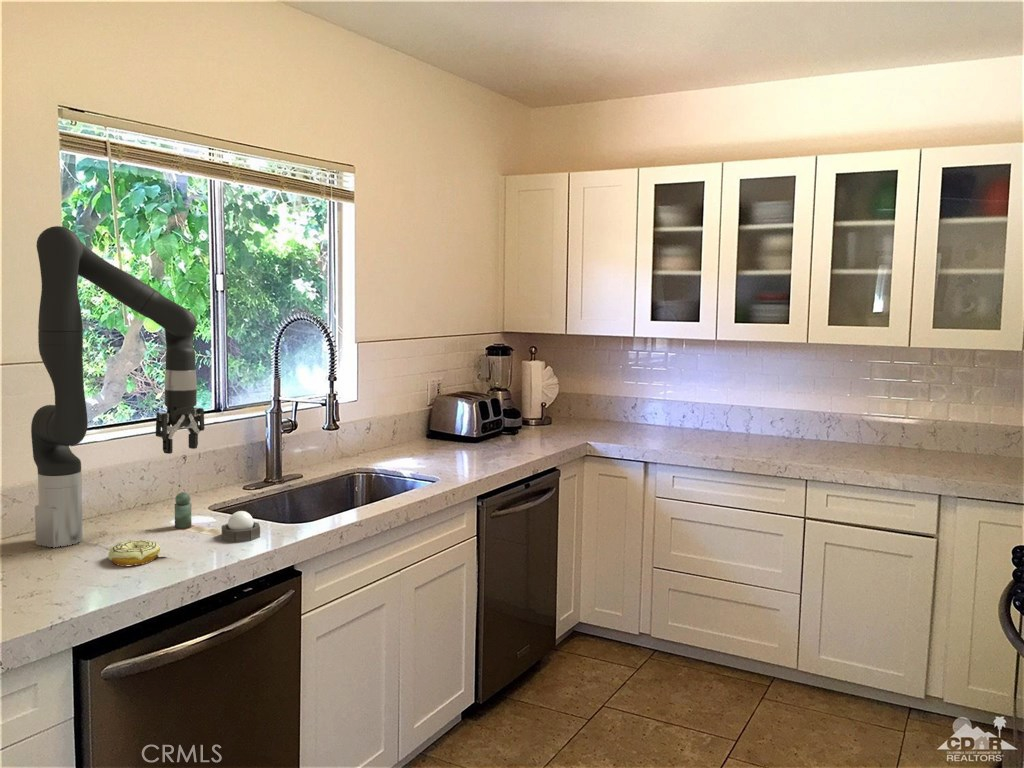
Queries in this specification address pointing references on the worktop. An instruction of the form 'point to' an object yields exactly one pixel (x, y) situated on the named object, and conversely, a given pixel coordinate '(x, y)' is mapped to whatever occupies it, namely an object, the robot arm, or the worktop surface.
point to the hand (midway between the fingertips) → (180, 450)
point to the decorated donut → (134, 552)
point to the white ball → (240, 521)
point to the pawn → (183, 511)
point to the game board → (229, 532)
